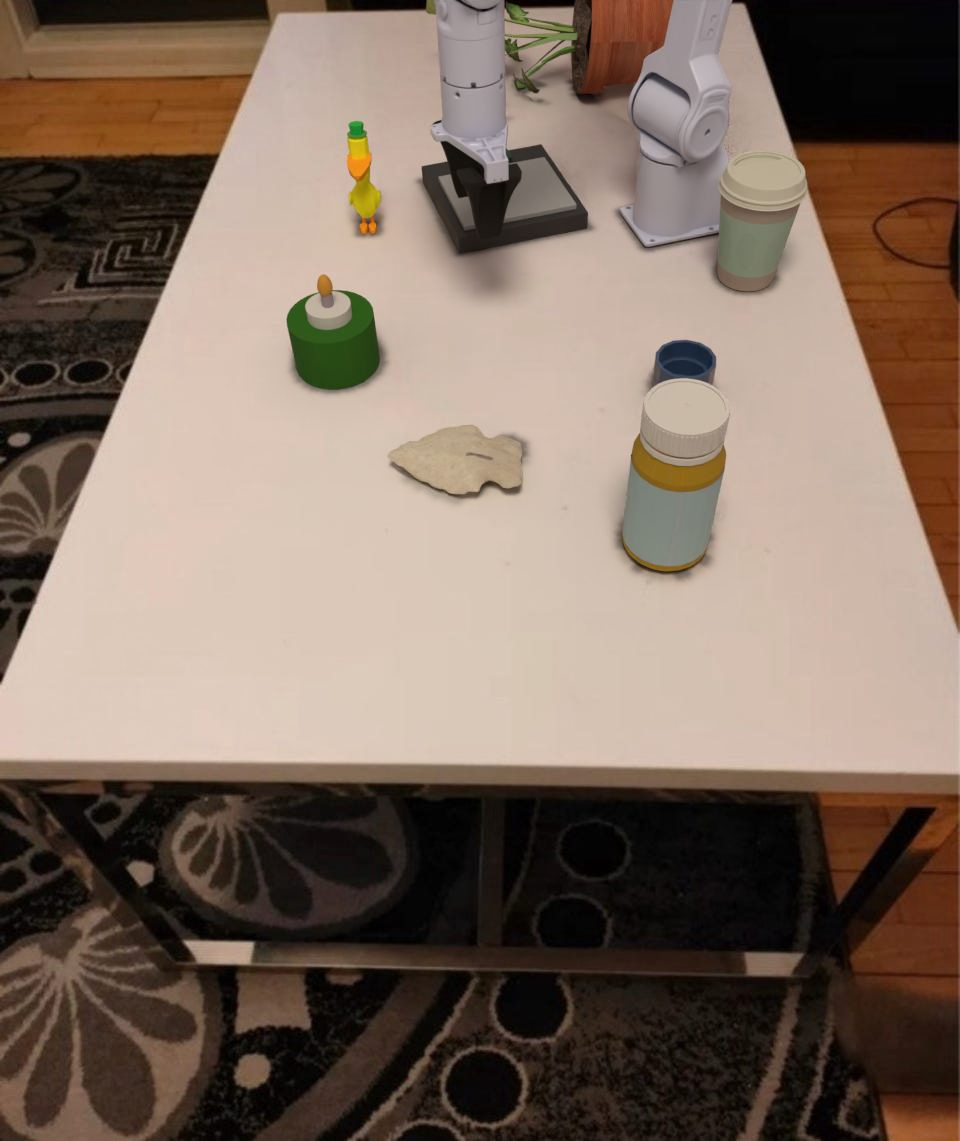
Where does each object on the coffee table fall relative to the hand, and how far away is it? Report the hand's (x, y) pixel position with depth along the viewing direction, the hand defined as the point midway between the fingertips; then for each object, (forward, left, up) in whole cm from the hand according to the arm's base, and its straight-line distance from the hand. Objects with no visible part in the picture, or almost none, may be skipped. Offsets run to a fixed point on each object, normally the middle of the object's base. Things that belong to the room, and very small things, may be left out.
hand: (477, 214), depth 99 cm
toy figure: (+8, -16, -10) cm, 21 cm away
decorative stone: (+9, +24, -10) cm, 27 cm away
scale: (-8, -16, -10) cm, 21 cm away
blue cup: (-14, +21, -10) cm, 26 cm away
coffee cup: (-28, +6, -10) cm, 30 cm away
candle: (+16, +6, -10) cm, 20 cm away
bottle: (-5, +38, -10) cm, 39 cm away
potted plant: (-22, -40, -10) cm, 47 cm away
